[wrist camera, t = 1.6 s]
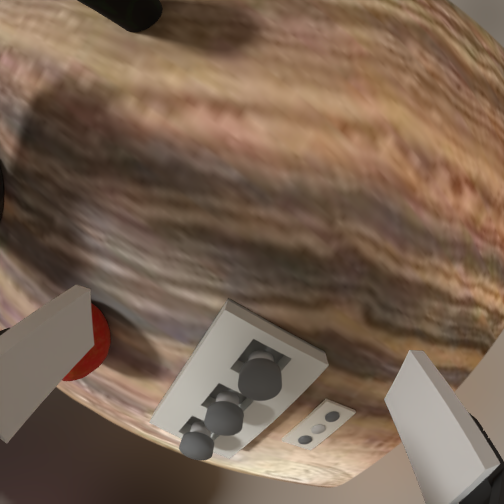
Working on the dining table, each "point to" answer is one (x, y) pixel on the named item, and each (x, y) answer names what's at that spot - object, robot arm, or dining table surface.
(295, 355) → the board
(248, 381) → the button
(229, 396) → the button
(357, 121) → the dining table surface
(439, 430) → the robot arm
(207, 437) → the button
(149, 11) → the cup
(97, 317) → the apple
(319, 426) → the pattern card
